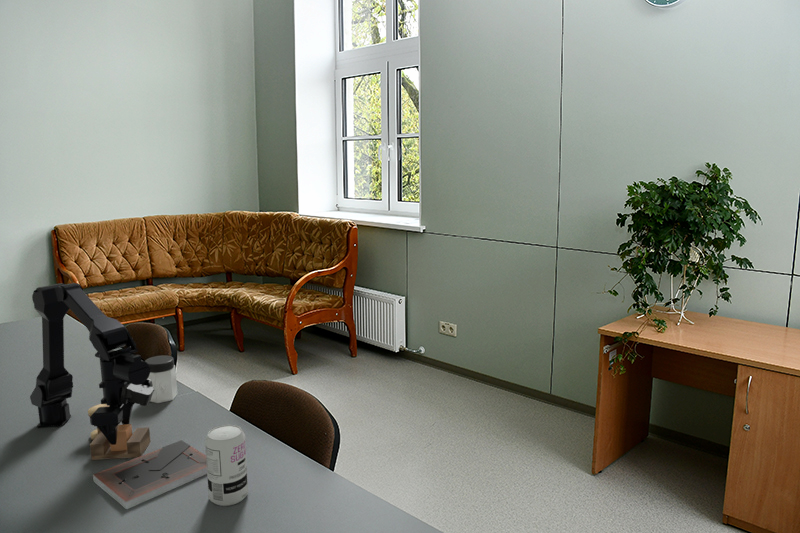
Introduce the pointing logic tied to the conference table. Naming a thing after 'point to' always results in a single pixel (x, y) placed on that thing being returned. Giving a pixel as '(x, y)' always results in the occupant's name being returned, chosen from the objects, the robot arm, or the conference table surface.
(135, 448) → the notch board
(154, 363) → the jar
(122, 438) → the light brown wooden block
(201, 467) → the picture frame
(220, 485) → the supplement can
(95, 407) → the spool
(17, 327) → the conference table surface
